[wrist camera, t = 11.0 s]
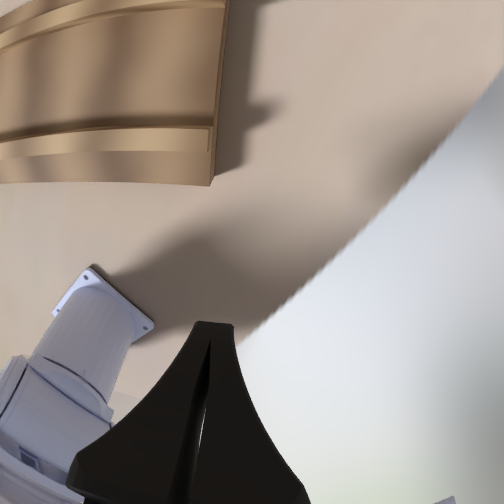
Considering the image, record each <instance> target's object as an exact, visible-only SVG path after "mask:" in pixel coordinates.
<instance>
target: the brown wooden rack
mask: <svg viewBox="0 0 504 504" xmlns="http://www.w3.org/2000/svg"><path fill="white" fill-rule="evenodd" d="M230 1H231V0H34V1H32V2H30V3H27V4H25V5H23V6H21V7H19V8H17V9H15V10H14V11H12V12H10V13H8V14H6V15H4V16H3V17H1V18H0V184H9V183H31V182H136V183H160V184H179V185H195V186H210V184H211V182H212V180H213V178H214V171H215V154H216V140H217V126H218V113H219V101H220V90H221V79H222V69H223V59H224V50H225V41H226V32H227V24H228V16H229V8H230Z"/></svg>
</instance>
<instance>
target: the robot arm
mask: <svg viewBox="0 0 504 504" xmlns="http://www.w3.org/2000/svg"><path fill="white" fill-rule="evenodd" d="M87 276H88V277H87ZM52 314H53V316H54V317H55V318H54V320H53V321H52V323H51V324H50V326H49V327H48V329H47V330H46V332H45V334H44V335H43V337H42V338H41V340H40V342H39V343H38V345H37V347H36V348H35V350H34V352H33V353H32V355H31V357H30V358H29V359H28V360H27V359H26V358H25V357H24V356H23V355H20V356H12V357H11V359H10V360H9V361H8V363H7V364H6V366H5V367H4V369H3V370H2V372H1V373H0V504H82V503H80V502H83V501H84V503H83V504H311V503H310V500H309V497H308V494H307V492H306V490H305V488H304V485H303V484H302V483H301V481H300V480H299V479H298V478H297V476H296V475H295V474H294V473H293V472H292V470H291V469H290V467H289V466H288V465H287V464H286V462H285V460H284V459H283V457H282V456H281V454H280V453H279V452H278V450H277V448H276V447H275V445H274V443H273V442H272V440H271V438H270V437H269V435H268V433H267V431H266V430H265V428H264V426H263V424H262V422H261V420H260V418H259V417H258V414H257V412H256V410H255V407H254V405H253V403H252V401H251V398H250V396H249V393H248V391H247V388H246V385H245V382H244V379H243V376H242V373H241V369H240V366H239V362H238V358H237V354H236V348H235V342H234V326H233V325H232V324H226V323H215V322H205V321H197V322H196V323H195V325H194V327H193V329H192V331H191V333H190V335H189V337H188V338H187V340H186V342H185V343H184V345H183V347H182V348H181V350H180V351H179V353H178V354H177V356H176V358H175V359H174V361H173V362H172V363H171V365H170V366H169V368H168V369H167V370H166V372H165V373H164V374H163V376H162V377H161V378H160V380H159V381H158V382H157V383H156V385H155V386H154V387H153V388H152V389H151V390H150V392H149V393H148V394H147V395H146V396H145V397H144V398H143V399H142V400H141V401H140V402H139V403H138V404H137V405H136V406H135V407H134V408H133V409H132V410H131V411H130V412H129V413H128V414H127V415H126V416H125V417H124V418H123V419H122V420H121V421H119V422H118V423H117V424H116V425H115V424H114V423H113V422H112V421H111V419H112V415H113V412H114V410H113V409H111V408H110V407H109V406H107V405H108V402H109V399H110V396H111V394H112V391H113V388H114V385H115V382H116V380H117V377H118V374H119V372H120V369H121V366H122V364H123V361H124V359H125V356H126V354H127V351H128V348H129V346H130V344H131V343H133V342H134V341H136V340H137V339H139V338H140V337H142V336H143V335H145V334H146V333H148V332H149V331H151V330H152V329H153V328H154V326H155V324H154V322H153V321H152V320H150V319H149V318H148V317H147V316H146V315H144V314H143V313H142V312H141V311H139V310H138V309H137V308H136V307H135V306H133V305H132V304H131V303H130V302H129V301H128V300H126V299H125V298H124V297H123V296H122V295H121V294H119V293H118V292H117V291H116V290H115V289H114V288H113V287H112V286H110V285H109V284H108V283H107V282H106V281H105V280H104V279H103V278H102V277H101V276H99V275H98V274H97V273H96V272H95V271H94V270H93V269H92V268H89V267H88V268H86V269H85V270H84V272H83V273H82V274H81V275H80V276H79V278H78V279H77V280H76V281H75V283H74V284H73V285H72V286H71V288H70V289H69V290H68V291H67V293H66V294H65V295H64V297H63V298H62V299H61V300H60V302H59V303H58V304H57V306H56V307H55V308H54V310H53V311H52ZM145 326H146V327H145ZM205 409H206V411H205ZM204 414H205V417H204ZM203 419H204V423H203ZM202 423H203V429H202V435H201V441H200V434H201V428H202ZM199 441H200V446H199ZM198 451H199V452H198ZM434 504H456V503H455V498H454V496H451V497H449V498H447V499H444V500H442V501H440V502H437V503H434Z"/></svg>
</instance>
